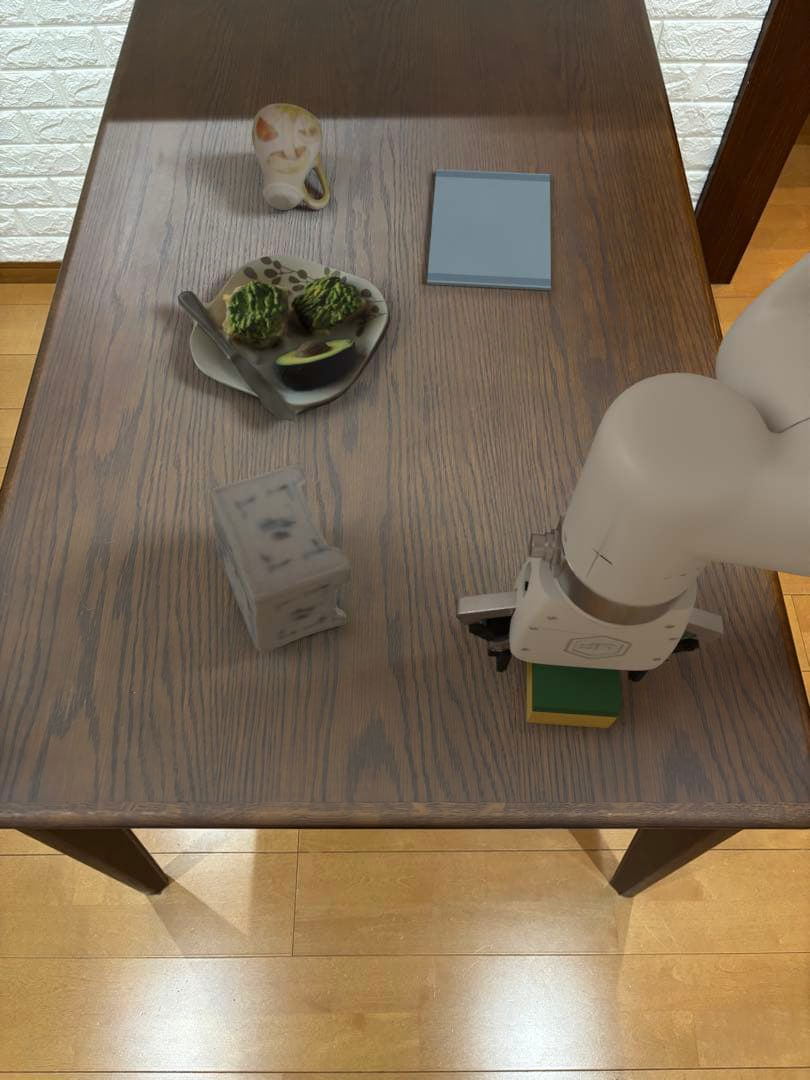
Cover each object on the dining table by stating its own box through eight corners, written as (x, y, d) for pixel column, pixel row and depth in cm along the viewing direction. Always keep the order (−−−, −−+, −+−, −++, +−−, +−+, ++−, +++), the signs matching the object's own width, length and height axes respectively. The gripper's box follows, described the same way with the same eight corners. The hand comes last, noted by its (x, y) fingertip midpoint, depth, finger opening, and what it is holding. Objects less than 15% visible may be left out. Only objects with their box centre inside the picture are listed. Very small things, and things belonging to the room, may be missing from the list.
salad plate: (135, 368, 76) (119, 334, 72) (237, 241, 83) (228, 204, 79) (318, 446, 72) (313, 415, 68) (409, 306, 79) (409, 270, 75)
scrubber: (527, 609, 65) (534, 586, 61) (603, 614, 65) (616, 591, 61) (526, 722, 61) (534, 705, 57) (608, 728, 61) (622, 712, 57)
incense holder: (361, 619, 65) (352, 562, 55) (261, 662, 63) (235, 611, 54) (313, 519, 69) (298, 450, 59) (218, 557, 67) (188, 493, 58)
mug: (251, 225, 84) (222, 118, 79) (282, 201, 92) (258, 102, 87) (319, 216, 82) (294, 105, 77) (345, 192, 90) (324, 90, 84)
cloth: (549, 177, 87) (550, 173, 87) (550, 291, 80) (550, 287, 80) (436, 172, 88) (436, 168, 87) (426, 284, 80) (427, 281, 80)
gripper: (463, 607, 44) (446, 698, 59) (790, 631, 43) (688, 716, 59) (469, 487, 47) (451, 602, 63) (772, 507, 47) (680, 618, 62)
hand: (566, 657), depth 61 cm, fingers open, 9 cm apart
